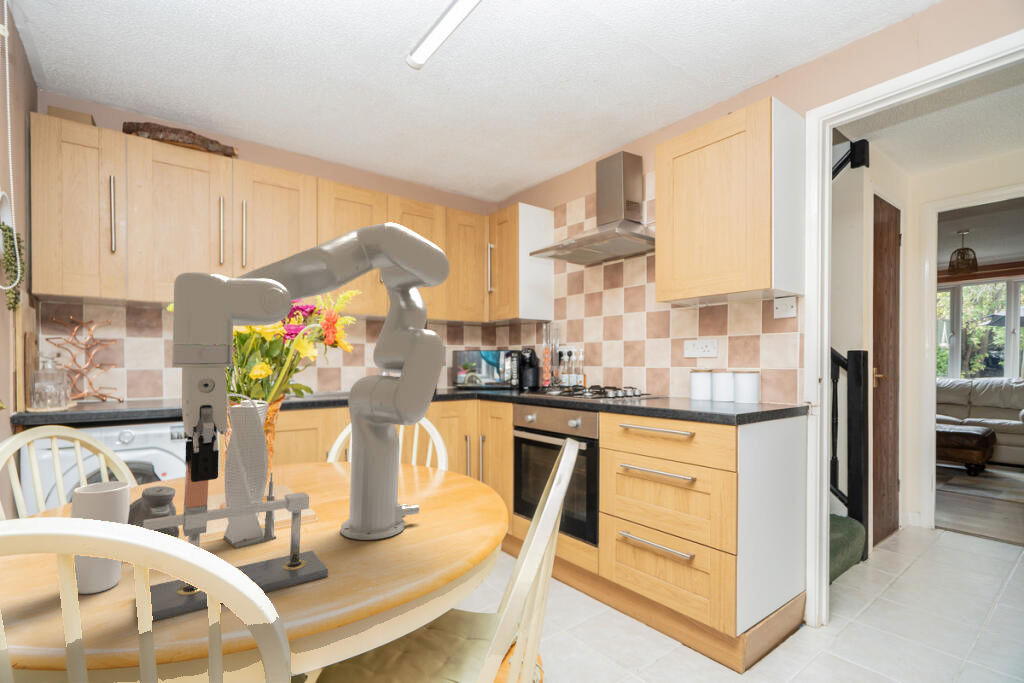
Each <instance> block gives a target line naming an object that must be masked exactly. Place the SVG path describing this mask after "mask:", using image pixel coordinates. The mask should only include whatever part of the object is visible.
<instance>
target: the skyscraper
mask: <svg viewBox="0 0 1024 683" xmlns="http://www.w3.org/2000/svg"><path fill="white" fill-rule="evenodd" d="M229 397H240V398H243V399H244V400H241V401H240V404H235V405H232V406H231V403H230V400H229ZM245 399H246V400H245ZM269 406H270V403H269V402H268V401H266V400H261V399H251V397H249V396H247V395H244V394H240V393H227V410H228V415H229V421H230V428H231V433H230V437H229V441H228V443H227V449H226V456H225V461H224V494H225V496H224V497H225V505H226V506H225V508H227V507H234V506H240V505H247V504H254V503H260V502H264V501H263V500H264V497H265V490H266V487H267V482H268V481H267V479H268V469H269V454H268V444H267V439H266V435H265V434H266V433H265V429H264V425H265V421H266V417H267V414H268V410H269ZM273 473H274V472H272V471H271V472H270V480H269V482H268V494H267V495H266V502H267V501H274V500H275V498H276V497H275V496H276V495H275V494H274V481H273ZM260 513H261V512H259V513H253V514H247V515H241V516H235V517H229V518H227V521H228V523H227V526H226V529H225V531H224V534H223V539H224V540H225V541H226V542H227V543H229V544H230V546H233V547H234V548H235V549H240V548H245V547H248V546H252V545H256V544H261V543H265V542H269V541H271V540H276V538H277V536H276V535H275V510H272V511H266V512H265V518H264V522H265V523H264V527H262V526H261V525H260V522H259V516H260Z"/></svg>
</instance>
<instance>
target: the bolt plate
mask: <svg viewBox="0 0 1024 683" xmlns="http://www.w3.org/2000/svg"><path fill="white" fill-rule="evenodd" d="M235 567H236V568H238V569H239V570H241V571H242V572H243V573H244V574H246V575H247V576H248V577H249V578H250V579H251V580H252V581H253V582H255V583H256V584H257V585H258V586H259V587H260V588H261V589H262V590H263V591H264V592H265V593H269V592H271V591H277V590H281V589H284V588H288V587H292V586H296V585H299V584H304V583H307V582H312V581H315V580H319V579H323V578H328V574H329V573H328V572H329V568H328V567H327V566H326V565H325V563H323V562H322V560H321V559H320V558H319V557H318V556H317V554H316V553H315V552H314V551H313V550H307V551H303V552H299V563H298V564H297V565H291V564H290V554H289V555H285V556H281V557H280V556H279V557H276V558H272V559H271V558H270V559H268V560H261V561H258V562H257V561H256V562H253V563H249V564H248V563H247V564H244V565H239V566H235ZM149 586H150V592H151V604H152V616H153V621H152V622H156V621H159V620H158V619H160V620H164V619H167V617H168V618H171V617H170V616H172V617H175V616H180V615H183V614H186V613H187V614H188V613H191V612H194V611H198V610H202V609H206V608H208V607H207V594H206V593H205V592H203V591H201V590H200V589H198V588H196V587H194V586H192V585H188V584H187V583H185V582H184V581H181V580H179V579H176V580H172V581H171V580H170V581H167V582H163V583H156V584H153V585H149ZM174 615H175V616H174ZM163 618H164V619H163Z"/></svg>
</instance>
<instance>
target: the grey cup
mask: <svg viewBox="0 0 1024 683" xmlns="http://www.w3.org/2000/svg"><path fill="white" fill-rule="evenodd" d="M130 505H131V483H130V482H128V481H120V480H119V481H113V480H112V481H102V482H94V483H90V484H85V485H83V486H79V487H76V488H75V489H73V491H72V499H71V506H70V507H71V509H70V510H71V511H70V519H71V518H83V519H93V520H101V521H109V522H116V523H122V524H128V518H129V511H130ZM74 562H75V573H76V580H77V588H78V593H77V594H79V595H80V594H81V595H91V594H96V593H100V592H104V591H107V590H110V589H111V588H113V587H115V586H116V585H118V584H119V582H120V581H121V575H122V564H123V563H122V562H123V560H122V561H118V560H113V559H108V558H99V557H90V556H80V555H75V556H74Z"/></svg>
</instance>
